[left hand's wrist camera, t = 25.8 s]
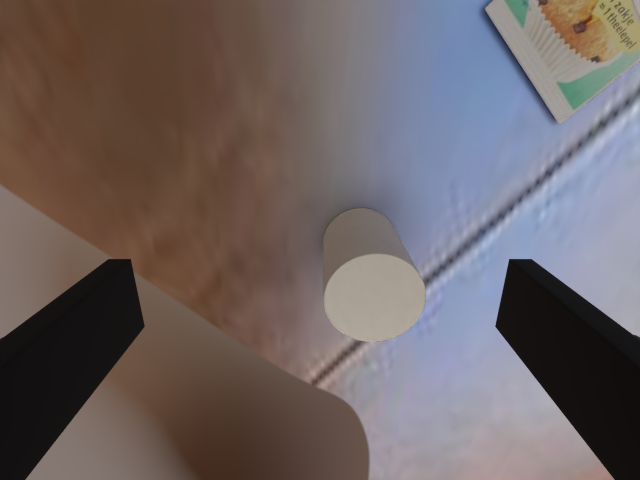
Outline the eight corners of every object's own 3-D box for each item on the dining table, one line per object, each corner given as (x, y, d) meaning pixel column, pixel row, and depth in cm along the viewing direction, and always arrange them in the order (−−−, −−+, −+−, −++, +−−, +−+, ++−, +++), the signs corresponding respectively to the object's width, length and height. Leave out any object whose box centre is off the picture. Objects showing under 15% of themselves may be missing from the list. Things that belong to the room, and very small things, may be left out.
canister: (315, 216, 26) (313, 265, 19) (390, 200, 26) (419, 243, 18) (331, 281, 28) (334, 350, 21) (401, 268, 28) (431, 332, 20)
